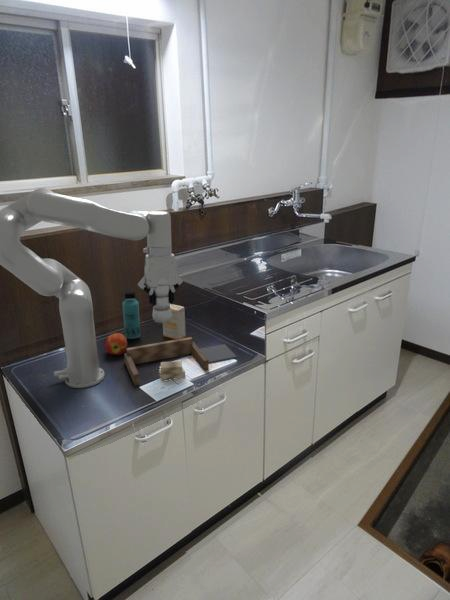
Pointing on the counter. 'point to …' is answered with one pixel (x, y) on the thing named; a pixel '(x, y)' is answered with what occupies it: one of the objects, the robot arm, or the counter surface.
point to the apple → (116, 344)
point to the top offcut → (171, 367)
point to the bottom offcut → (171, 375)
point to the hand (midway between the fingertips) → (161, 303)
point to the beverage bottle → (131, 316)
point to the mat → (218, 353)
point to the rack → (162, 354)
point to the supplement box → (175, 323)
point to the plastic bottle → (162, 302)
